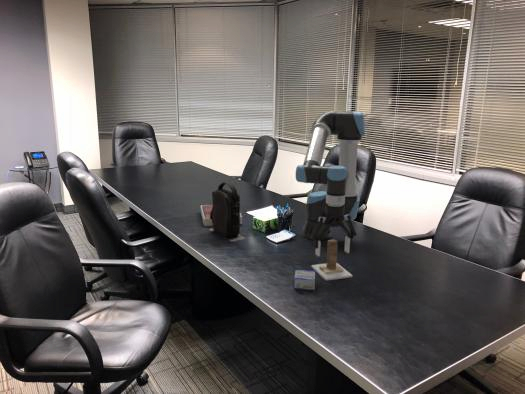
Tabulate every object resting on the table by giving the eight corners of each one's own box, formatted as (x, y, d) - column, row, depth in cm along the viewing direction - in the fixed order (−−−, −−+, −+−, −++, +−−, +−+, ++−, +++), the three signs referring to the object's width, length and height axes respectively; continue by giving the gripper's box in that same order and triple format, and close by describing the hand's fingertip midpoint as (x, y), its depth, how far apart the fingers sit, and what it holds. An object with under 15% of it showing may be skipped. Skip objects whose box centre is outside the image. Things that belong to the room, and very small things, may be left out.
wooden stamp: (319, 268, 176) (320, 239, 173) (335, 266, 178) (337, 237, 175) (326, 274, 170) (327, 244, 167) (343, 271, 173) (345, 242, 170)
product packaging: (235, 211, 262) (235, 203, 261) (242, 225, 236) (242, 216, 235) (200, 213, 258) (200, 205, 257) (204, 227, 231) (204, 218, 230)
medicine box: (315, 270, 165) (315, 279, 156) (314, 280, 166) (314, 290, 157) (295, 269, 166) (294, 278, 157) (295, 279, 167) (293, 289, 158)
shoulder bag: (246, 238, 213) (246, 185, 206) (231, 241, 208) (231, 187, 201) (223, 227, 231) (222, 177, 224) (208, 230, 225) (207, 179, 218)
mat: (311, 267, 179) (311, 265, 179) (336, 263, 183) (336, 262, 182) (325, 280, 166) (326, 278, 166) (352, 277, 170) (352, 275, 169)
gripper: (310, 209, 160) (308, 260, 165) (367, 204, 167) (363, 253, 173) (303, 204, 167) (301, 253, 172) (357, 200, 174) (354, 247, 180)
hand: (332, 253), depth 172 cm, fingers open, 13 cm apart
